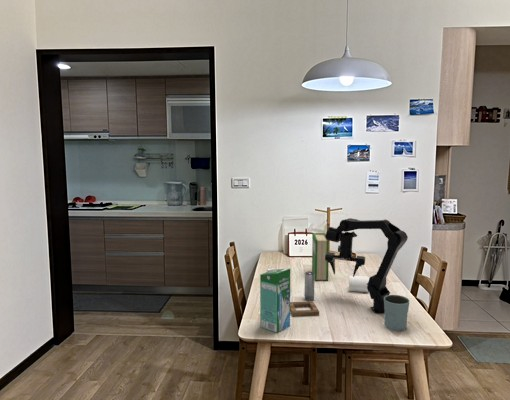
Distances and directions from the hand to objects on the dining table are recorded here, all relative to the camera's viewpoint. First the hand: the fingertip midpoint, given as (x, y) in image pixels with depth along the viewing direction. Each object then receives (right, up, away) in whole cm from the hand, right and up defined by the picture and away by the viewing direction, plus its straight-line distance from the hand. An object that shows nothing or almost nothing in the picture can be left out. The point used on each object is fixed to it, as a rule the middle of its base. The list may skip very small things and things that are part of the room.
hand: (343, 275), depth 195 cm
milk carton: (-35, -16, -27) cm, 47 cm away
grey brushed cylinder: (-17, -12, +3) cm, 21 cm away
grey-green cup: (+15, -16, -28) cm, 36 cm away
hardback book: (-6, -8, +39) cm, 40 cm away
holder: (-21, -14, -11) cm, 28 cm away
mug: (+11, -11, +16) cm, 23 cm away
